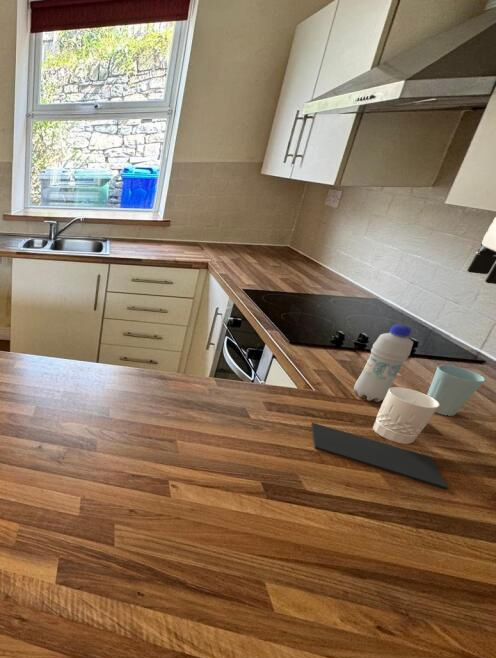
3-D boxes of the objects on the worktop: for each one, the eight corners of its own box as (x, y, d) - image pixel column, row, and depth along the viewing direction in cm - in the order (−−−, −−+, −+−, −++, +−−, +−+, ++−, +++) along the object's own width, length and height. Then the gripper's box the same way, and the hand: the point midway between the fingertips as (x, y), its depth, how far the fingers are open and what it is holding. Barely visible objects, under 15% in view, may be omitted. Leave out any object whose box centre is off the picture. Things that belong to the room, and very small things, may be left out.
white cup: (370, 419, 95) (389, 383, 90) (417, 435, 90) (439, 397, 85) (367, 433, 90) (387, 396, 85) (416, 451, 84) (440, 412, 80)
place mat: (431, 458, 83) (432, 457, 82) (447, 489, 75) (448, 487, 75) (311, 424, 92) (312, 422, 92) (314, 448, 85) (315, 446, 85)
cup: (471, 421, 95) (495, 383, 90) (432, 416, 96) (454, 378, 92) (445, 403, 101) (467, 367, 97) (409, 399, 103) (429, 363, 99)
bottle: (349, 386, 108) (382, 318, 99) (382, 395, 104) (419, 324, 96) (351, 398, 103) (386, 326, 94) (386, 407, 99) (426, 334, 91)
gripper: (591, 200, 70) (532, 292, 78) (540, 192, 84) (494, 272, 91) (528, 196, 74) (477, 285, 81) (488, 189, 87) (447, 266, 95)
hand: (486, 278), depth 86 cm, fingers open, 9 cm apart
